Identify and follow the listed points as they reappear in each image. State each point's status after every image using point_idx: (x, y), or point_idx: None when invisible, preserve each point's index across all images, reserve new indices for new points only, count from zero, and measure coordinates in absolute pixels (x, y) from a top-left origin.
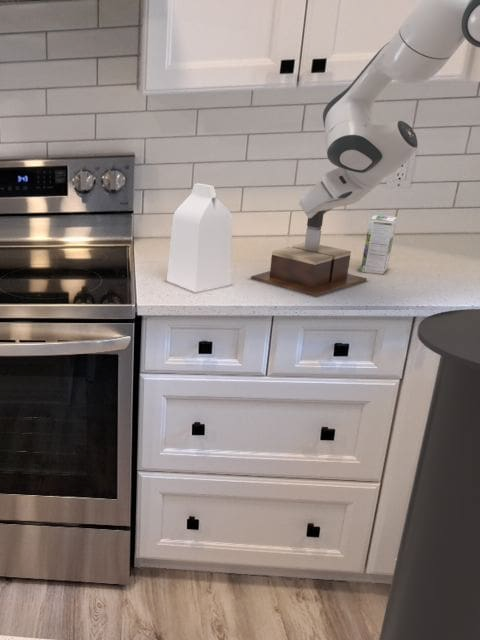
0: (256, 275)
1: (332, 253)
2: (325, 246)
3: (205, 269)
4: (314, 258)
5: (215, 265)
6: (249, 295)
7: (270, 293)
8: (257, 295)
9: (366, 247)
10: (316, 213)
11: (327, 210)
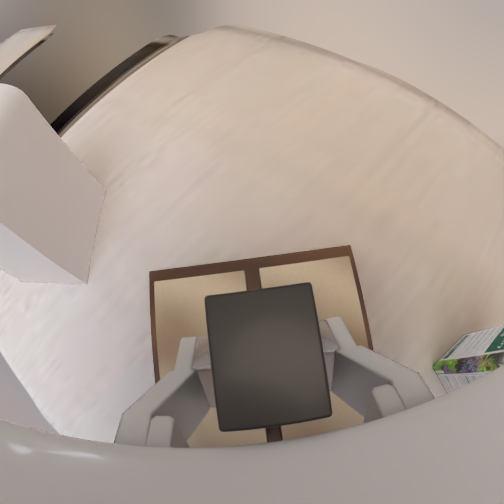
0: (163, 274)
1: (302, 431)
2: (359, 339)
3: (7, 264)
4: (193, 442)
5: (21, 262)
6: (66, 363)
7: (105, 386)
8: (77, 375)
9: (472, 368)
10: (195, 425)
11: (346, 398)
